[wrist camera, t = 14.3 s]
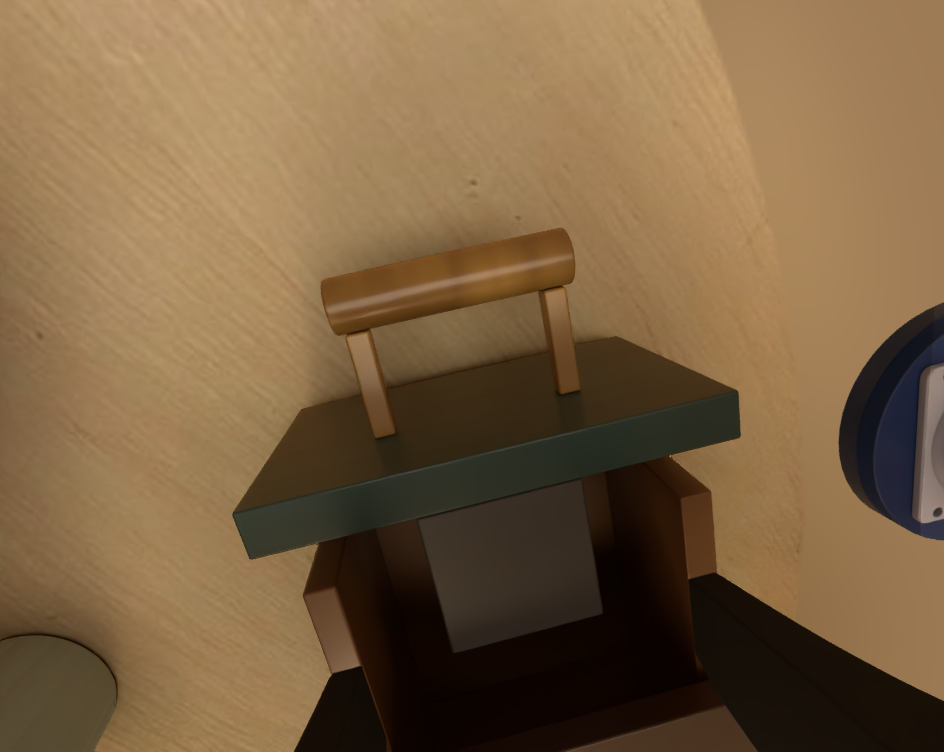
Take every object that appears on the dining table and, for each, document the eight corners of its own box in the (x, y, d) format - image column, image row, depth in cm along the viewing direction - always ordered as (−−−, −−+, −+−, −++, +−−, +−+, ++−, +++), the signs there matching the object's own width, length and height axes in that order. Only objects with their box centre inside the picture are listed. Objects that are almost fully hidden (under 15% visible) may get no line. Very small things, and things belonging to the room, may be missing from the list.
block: (539, 419, 17) (583, 477, 12) (559, 528, 18) (604, 614, 14) (414, 449, 16) (415, 519, 12) (442, 557, 18) (452, 655, 13)
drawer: (261, 288, 16) (153, 320, 9) (602, 214, 16) (729, 195, 10) (396, 702, 21) (390, 916, 14) (653, 633, 21) (760, 805, 15)
